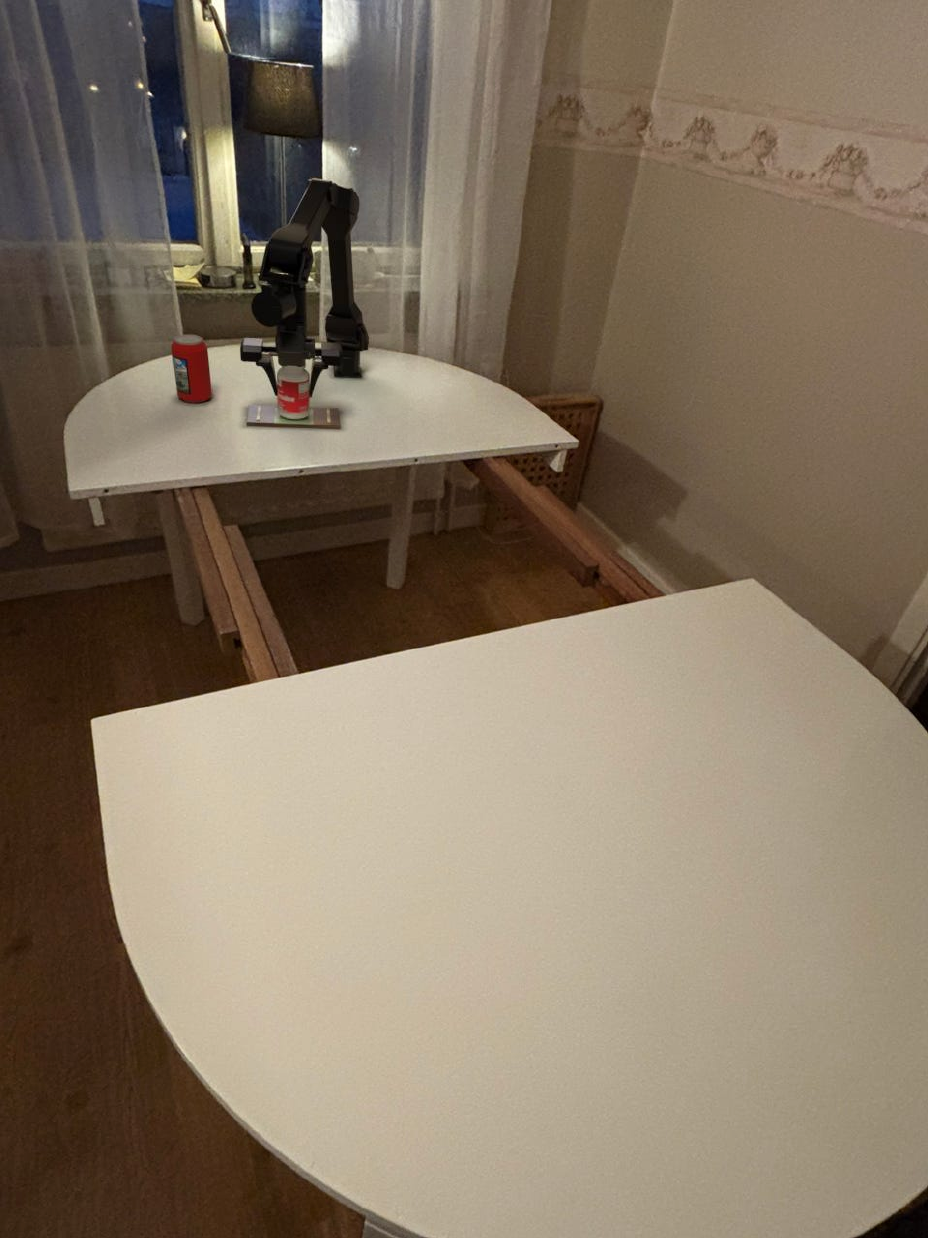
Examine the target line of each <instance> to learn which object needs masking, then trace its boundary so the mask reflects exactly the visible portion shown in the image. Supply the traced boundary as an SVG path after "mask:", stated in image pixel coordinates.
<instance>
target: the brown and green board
mask: <svg viewBox="0 0 928 1238" xmlns="http://www.w3.org/2000/svg"><path fill="white" fill-rule="evenodd" d="M309 407H310V406H309ZM245 422H246V426H247V427H269V428H271V427H272V428H273V427H274V428H299V429H300V428H305V429H328V430H329V429H330V430H331V429H332V430H340V429H341V419H340V409H339V408H335V407H310V409H309V415H308V416H307V417H305V418H302V419H288V418H285V417H283V416H281V415H280V414H279V413H278V405H262V404H261V405H259V404H248V410H247V415H246V421H245Z"/></svg>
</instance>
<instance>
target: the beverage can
mask: <svg viewBox="0 0 928 1238" xmlns="http://www.w3.org/2000/svg"><path fill="white" fill-rule="evenodd" d="M170 351H171V358H172V365H173V373H174V381H175V389H176V395H177V396H178V398H179V399H182V401H184V402H187V403H194V404H195V403H203V402H205V401H207V400H208V399H210V398H211V397H212V393H213V392H212V383H211V381H212V380H211V371H210V362H209V352H208V346H207V345H206V343H205V341H204V339H203V337H202V336H199V335H197V334H178V335H175V336H174V337H173V341H172V344H171V346H170Z"/></svg>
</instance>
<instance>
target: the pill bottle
mask: <svg viewBox="0 0 928 1238" xmlns="http://www.w3.org/2000/svg"><path fill="white" fill-rule="evenodd" d="M306 361H307V359H305V365H304V366H303V367H297V366H281V367H280V368H278V370H277V372H276V380H277V395H278V396H277V406H278V413H279V414H280V415H281V416H283V417H285V418H288V419H302V418H305V417H307V416H308V415H309V409H310V405H311V404H310V403H311V402H310V399H311V397H310V378H311V374H310V372H309V371H308V370H307V369H306V367H307V362H306Z"/></svg>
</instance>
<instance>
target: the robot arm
mask: <svg viewBox="0 0 928 1238" xmlns="http://www.w3.org/2000/svg"><path fill="white" fill-rule="evenodd" d="M296 207H297V208H296V209H295V211H294V213H293V215H292V217H291V219H290V220H289V223H288V224H287V225H285V226H283V227H280V228H277V229H276V230H275V232H274V233H273V234H272V235H271V237H270V238H269V239H268V240H267V241H268V242H267V243H266V244H265V247H264V251H263V256H262V261H261V265H260V269H259V274H258V281H259V282H264V283H262V284H261V285H260V290H261V291H259V292H258V293H256V294H255V295H254V297H253V298H252V301H251V305H250V307H251V308H250V309H251V313H252V315H253V317H254V319H255V321H257V322H258V324H260V325H262V326H264V327H266V328H275V337H274V342H275V345H274V344H264V340H263V338H257V337H256V338H255V337H253V338H252V337H243V339H242V340H241V342H240V345H239V356H240V361H241V362H244V363H255V366H257V367H260V368H262V369H263V371H264V372H265V375H266V376H267V378H268V380H269V383H270V386H271V388H272V391H273V394H274V396H275V397H278V395H277V373H276V369H275V362H274V357H277V362H278V365H279V366H281V367H282V366H297V367H303V366H304V365H305V360H306V361H307V360H309V361H310V360H312V361H311V367H310V369H311V370H310V398H313V394H314V392H315V389H316V386H317V382H318V379H319V378H320V374H321V373H322V372H323V371H324V370H328V369H329V367H332V371H333V376H334V377H339V378H359V379H361V378H363V371H362V367H361V352H362V353H363V352H364V351H369V345H370V336H369V333H368V331H367V328H366V325H365V323H364V319H363V318H364V317H363V312H362V311H361V309H360V308H359V306H358V305H357V303H356V302H355V291H354V275H353V273H354V272H353V255H352V253H353V252H352V238H351V237H352V235H351V232H352V230H353V228H354V226H355V224H356V222H357V221H358V216H359V215H358V214H359V211H360V197H359V195H358V194H357V192H356V191H355V190H354V188H353V187H348V186H341V185H339V184H337V183H336V182H333V180H329V179H323V178H322V179H321V178H316V177H313V178H309V179H308V180H307V181H306V187H305V192H304V194H303V196H302V198H301V199H300V202H299V203H298V205H297V206H296ZM321 228H322V230H323V231H324V233H325V234H326V238H327V252H328V262H329V264H328V265H329V277H330V290H331V304H332V305H331V307H330V309H329V311H328V312H327V314H326V316H325V318H324V321H325V323H324V332H325V339H326V341H321V342H320V347H316V338H313V337H308V315H307V314H308V313H307V311H308V310H307V309H308V308H307V307H308V306H307V284H308V283H309V278H310V275H311V272H312V268H313V264H314V261H315V256H314V252H313V247H312V245H313V243H314V241H315V238H316V237H317V234H318V233H319V230H320V229H321Z"/></svg>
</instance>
